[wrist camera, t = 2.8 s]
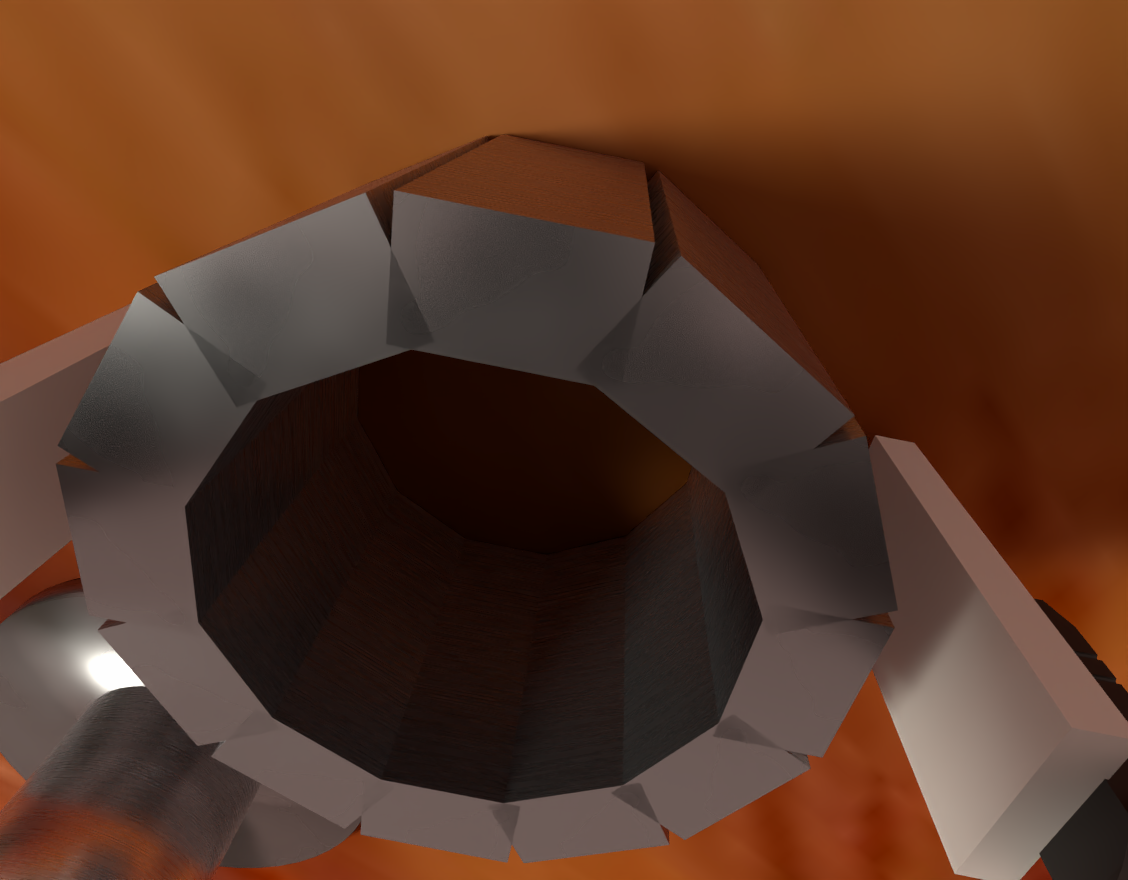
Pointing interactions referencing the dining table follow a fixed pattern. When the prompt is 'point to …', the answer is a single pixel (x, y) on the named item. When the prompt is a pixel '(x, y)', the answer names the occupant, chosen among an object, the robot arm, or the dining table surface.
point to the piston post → (121, 768)
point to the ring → (470, 568)
